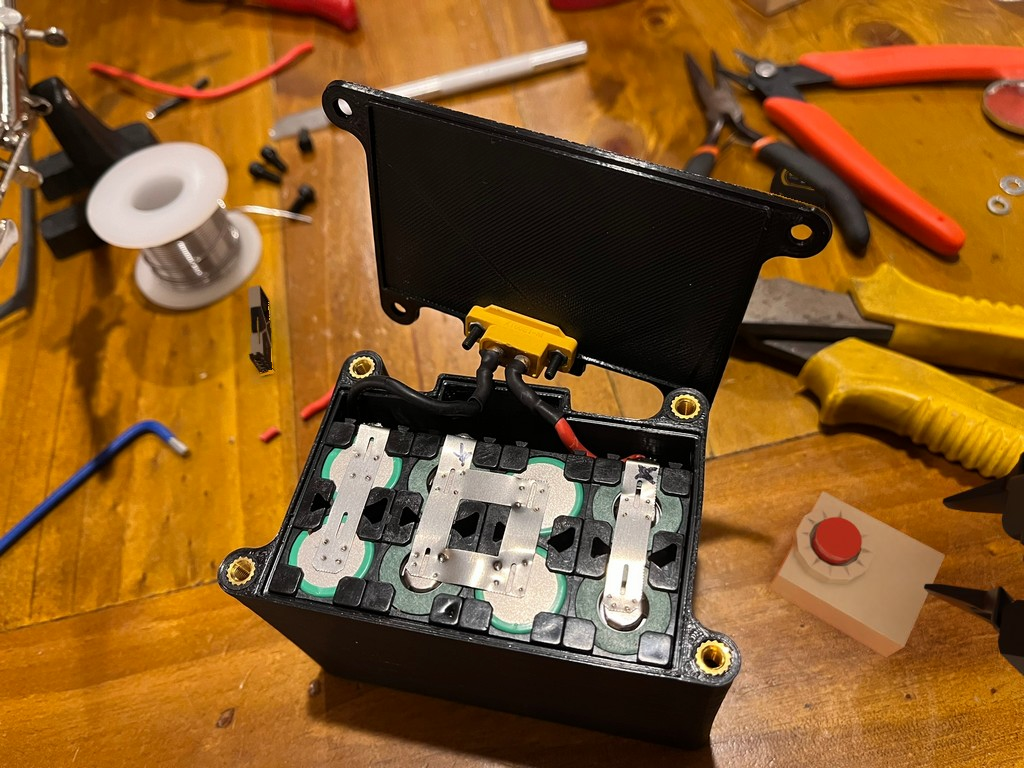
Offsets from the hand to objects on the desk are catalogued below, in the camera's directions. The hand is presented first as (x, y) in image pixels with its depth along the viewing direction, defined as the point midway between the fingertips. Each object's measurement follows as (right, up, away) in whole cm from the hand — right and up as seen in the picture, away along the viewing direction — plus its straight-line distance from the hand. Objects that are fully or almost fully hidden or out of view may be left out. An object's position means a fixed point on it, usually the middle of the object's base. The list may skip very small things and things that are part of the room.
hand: (935, 544), depth 65 cm
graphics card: (-67, +19, +35) cm, 78 cm away
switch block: (-2, -6, +13) cm, 14 cm away
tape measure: (+2, +37, +37) cm, 52 cm away
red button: (-5, -2, +8) cm, 10 cm away
